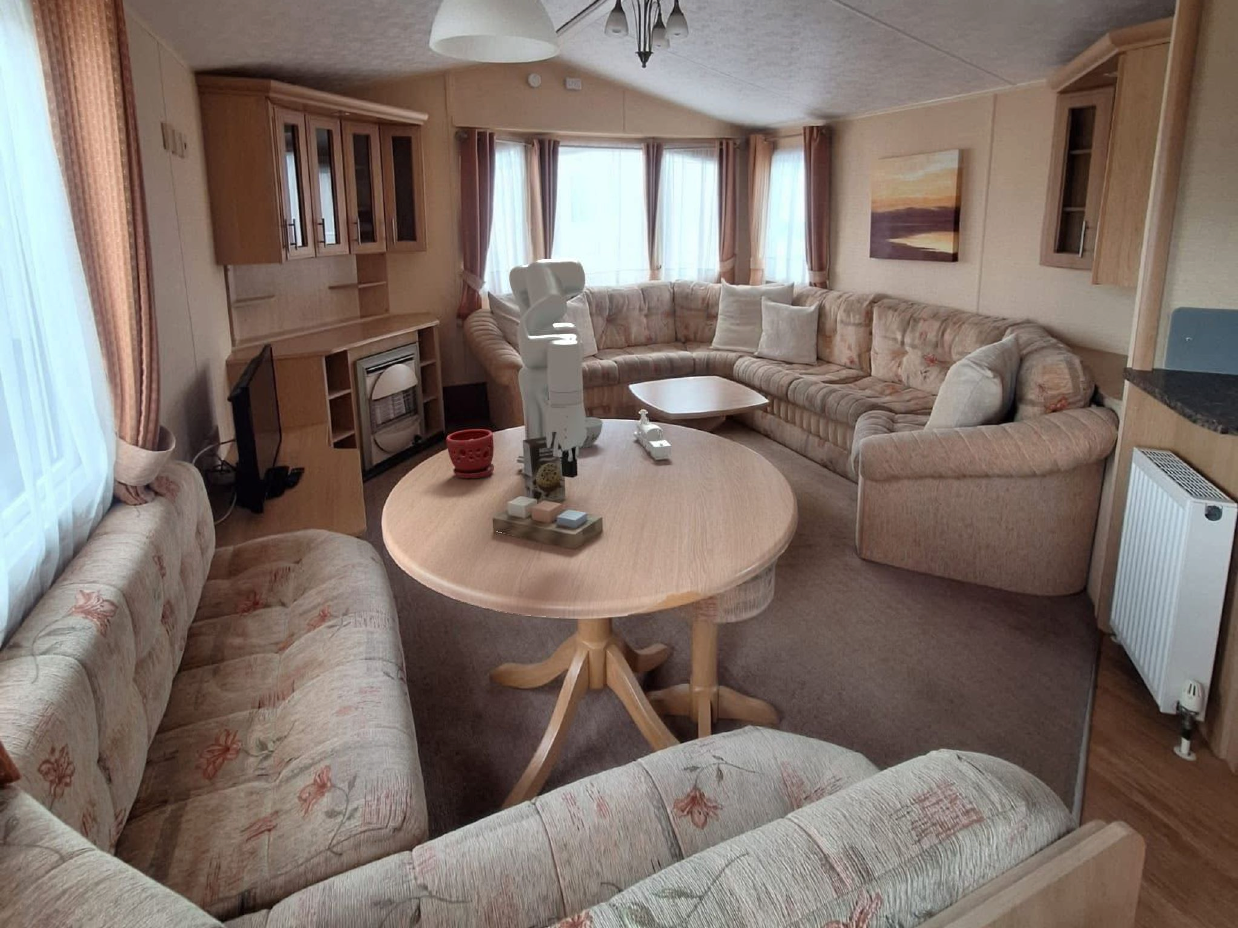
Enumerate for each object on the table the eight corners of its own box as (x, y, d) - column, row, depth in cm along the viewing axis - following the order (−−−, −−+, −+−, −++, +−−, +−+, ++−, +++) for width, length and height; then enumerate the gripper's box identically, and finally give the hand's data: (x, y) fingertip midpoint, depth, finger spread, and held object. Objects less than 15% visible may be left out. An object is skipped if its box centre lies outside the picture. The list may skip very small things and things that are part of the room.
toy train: (648, 434, 269) (648, 405, 266) (673, 461, 241) (673, 428, 238) (630, 436, 268) (629, 406, 265) (652, 463, 240) (652, 430, 237)
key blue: (557, 530, 187) (556, 516, 186) (569, 523, 191) (568, 509, 190) (575, 534, 184) (575, 520, 183) (587, 526, 188) (586, 512, 187)
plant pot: (495, 465, 241) (492, 426, 238) (496, 479, 229) (493, 438, 225) (450, 468, 239) (446, 429, 235) (449, 483, 227) (445, 442, 223)
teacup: (606, 449, 254) (605, 424, 251) (566, 452, 252) (565, 427, 249) (599, 436, 268) (598, 413, 265) (561, 439, 266) (560, 415, 264)
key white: (508, 516, 193) (507, 502, 192) (520, 509, 197) (519, 496, 196) (525, 519, 191) (524, 506, 190) (537, 512, 195) (536, 499, 194)
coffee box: (534, 506, 208) (530, 445, 203) (525, 498, 213) (521, 439, 208) (566, 499, 212) (563, 440, 207) (557, 492, 217) (553, 434, 212)
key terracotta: (532, 521, 190) (531, 507, 189) (544, 514, 194) (543, 500, 193) (550, 524, 187) (549, 510, 186) (562, 517, 191) (561, 503, 190)
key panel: (493, 531, 192) (492, 517, 191) (523, 515, 202) (522, 501, 201) (575, 549, 181) (574, 534, 180) (602, 530, 191) (602, 516, 190)
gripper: (570, 388, 186) (573, 464, 192) (532, 402, 174) (537, 483, 179) (598, 391, 182) (601, 468, 188) (561, 406, 170) (565, 488, 176)
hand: (569, 475), depth 184 cm, fingers closed
